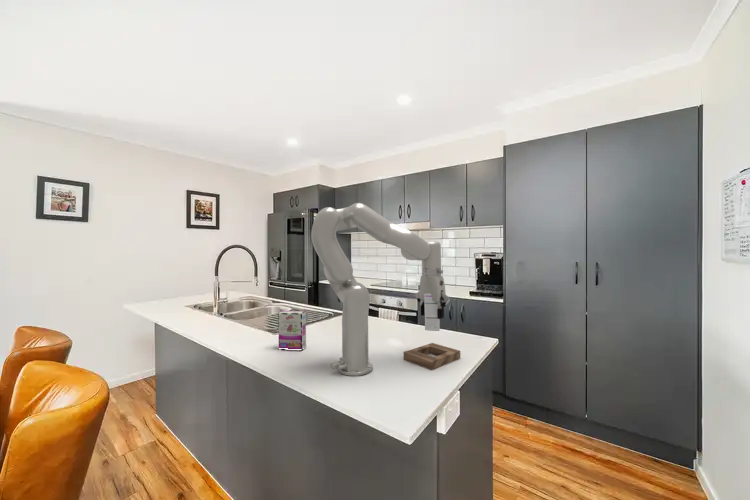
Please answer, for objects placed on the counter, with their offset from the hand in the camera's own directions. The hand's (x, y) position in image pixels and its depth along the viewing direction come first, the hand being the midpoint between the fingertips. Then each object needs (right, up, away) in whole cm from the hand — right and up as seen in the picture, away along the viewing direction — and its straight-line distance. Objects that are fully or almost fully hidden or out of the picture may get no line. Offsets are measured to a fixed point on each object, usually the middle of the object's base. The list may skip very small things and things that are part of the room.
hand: (432, 316), depth 118 cm
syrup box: (0, -5, 0) cm, 5 cm away
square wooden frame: (0, -17, 0) cm, 17 cm away
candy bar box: (-59, -18, +14) cm, 63 cm away
